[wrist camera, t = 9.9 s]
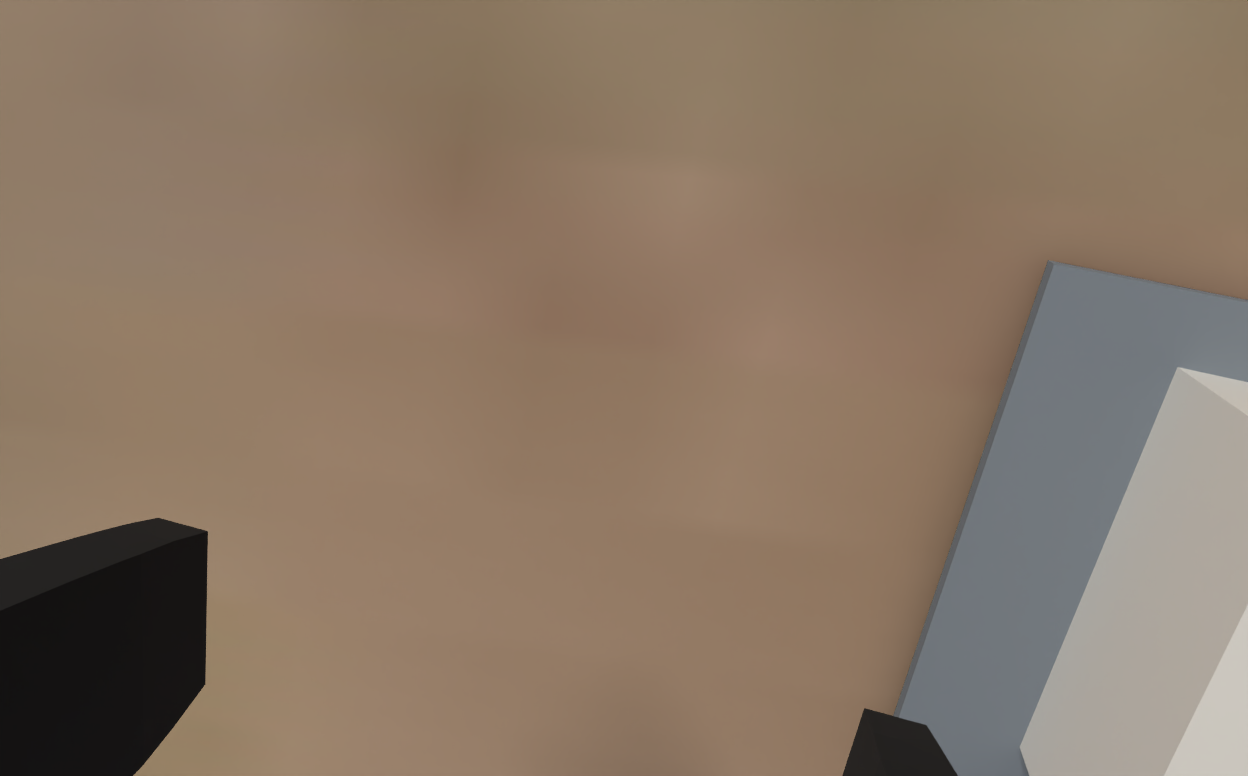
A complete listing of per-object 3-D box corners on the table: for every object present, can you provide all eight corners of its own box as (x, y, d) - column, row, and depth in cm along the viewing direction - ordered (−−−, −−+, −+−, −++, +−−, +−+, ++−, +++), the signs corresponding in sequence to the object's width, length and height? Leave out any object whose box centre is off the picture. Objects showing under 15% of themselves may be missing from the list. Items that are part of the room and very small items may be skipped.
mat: (1296, 899, 19) (1306, 916, 18) (871, 780, 20) (872, 794, 19) (1602, 371, 15) (1623, 378, 14) (1048, 260, 16) (1054, 263, 15)
